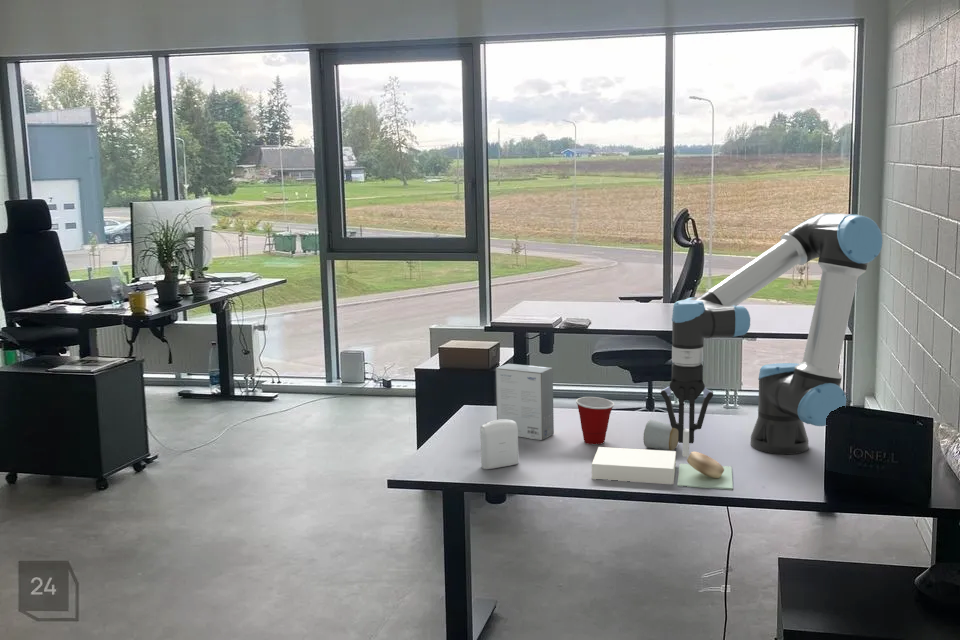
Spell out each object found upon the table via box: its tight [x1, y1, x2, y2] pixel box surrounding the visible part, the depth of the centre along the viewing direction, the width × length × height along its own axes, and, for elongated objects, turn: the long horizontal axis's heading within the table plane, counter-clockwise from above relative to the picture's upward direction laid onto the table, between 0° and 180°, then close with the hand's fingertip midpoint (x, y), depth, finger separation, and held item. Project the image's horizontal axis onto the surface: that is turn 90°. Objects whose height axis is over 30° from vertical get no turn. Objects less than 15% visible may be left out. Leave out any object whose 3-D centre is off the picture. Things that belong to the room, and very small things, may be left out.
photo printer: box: [479, 419, 519, 470], centre depth 240 cm, size 10×4×12 cm, turn 112°
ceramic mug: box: [643, 419, 679, 451], centre depth 252 cm, size 11×8×8 cm
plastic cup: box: [575, 396, 615, 445], centre depth 258 cm, size 11×11×12 cm
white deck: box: [591, 446, 677, 485], centre depth 233 cm, size 20×14×4 cm
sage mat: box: [676, 463, 734, 491], centre depth 229 cm, size 13×16×1 cm
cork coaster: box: [686, 451, 724, 478], centre depth 228 cm, size 9×9×2 cm
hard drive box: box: [495, 363, 555, 441], centre depth 266 cm, size 16×8×20 cm, turn 58°
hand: (685, 455), depth 229 cm, fingers closed
